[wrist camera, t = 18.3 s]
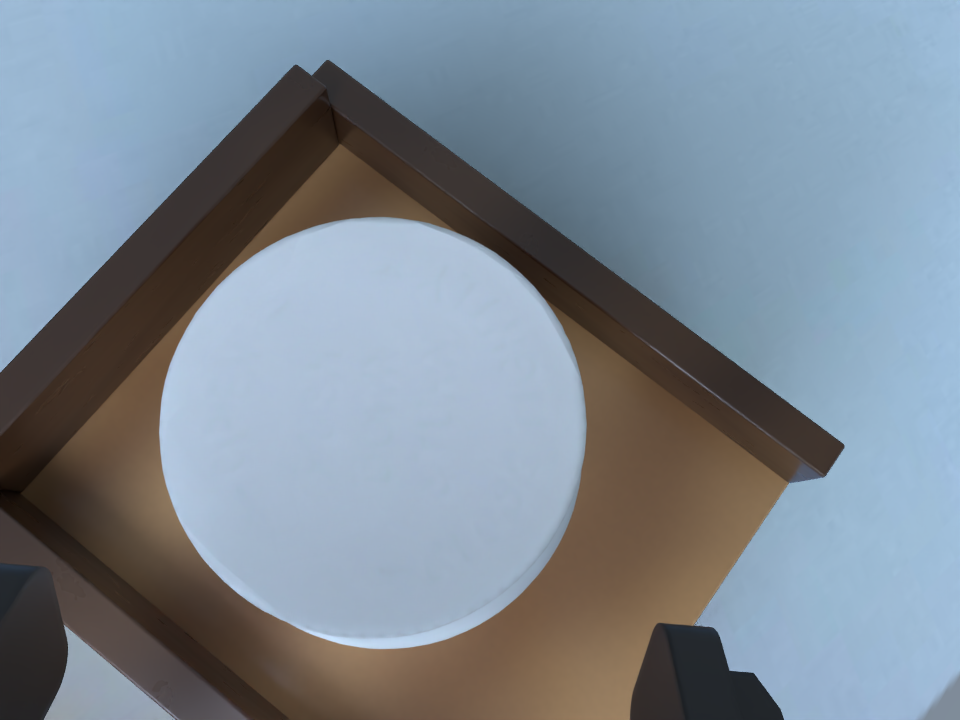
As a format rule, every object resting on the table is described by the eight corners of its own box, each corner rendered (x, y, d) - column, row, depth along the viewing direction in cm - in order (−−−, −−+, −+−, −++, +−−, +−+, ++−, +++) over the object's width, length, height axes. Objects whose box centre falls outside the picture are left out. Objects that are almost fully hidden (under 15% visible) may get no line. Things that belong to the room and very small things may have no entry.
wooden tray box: (699, 480, 30) (869, 440, 19) (464, 815, 27) (493, 1015, 16) (360, 221, 32) (322, 33, 20) (102, 514, 29) (-118, 493, 17)
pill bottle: (562, 420, 21) (707, 288, 10) (468, 651, 20) (521, 782, 9) (345, 326, 22) (260, 97, 11) (236, 548, 20) (10, 553, 9)
